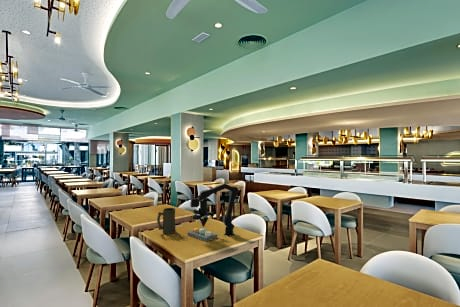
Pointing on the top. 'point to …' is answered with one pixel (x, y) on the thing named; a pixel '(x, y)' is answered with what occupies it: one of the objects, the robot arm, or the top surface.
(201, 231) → the button teal
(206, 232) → the button cream
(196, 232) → the button orange
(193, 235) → the console
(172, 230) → the beer stein
